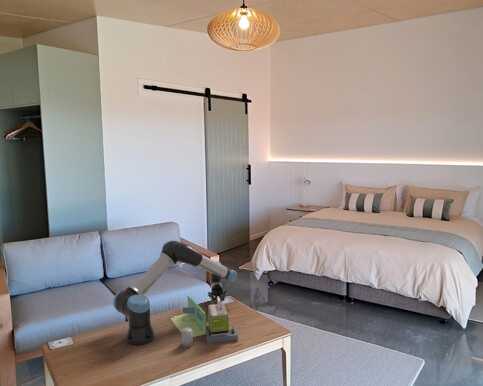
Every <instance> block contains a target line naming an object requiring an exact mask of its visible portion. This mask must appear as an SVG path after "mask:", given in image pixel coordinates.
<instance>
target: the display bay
mask: <svg viewBox="0 0 483 386" xmlns="http://www.w3.org/2000/svg"><path fill="white" fill-rule="evenodd" d="M237 329H238V328H237V325H236V323H232V330H233V334H232V333H231V334H230V333H229V334H228V335H215V336H211V335H210V330H209V325H206V334H205V335H206V337H205V338H206V343H209V344H210V343H221V342H233V341H234V342H235V341H239V335H238V334H239V333H238V330H237Z"/></svg>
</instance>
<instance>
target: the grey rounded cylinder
mask: <svg viewBox="0 0 483 386" xmlns="http://www.w3.org/2000/svg"><path fill="white" fill-rule="evenodd" d="M180 336H181V346H182V347H183V348H189V347H190V348H191V347H192V346H193V344H194V337H193V331H192V328H183V329H182V330H181V332H180Z"/></svg>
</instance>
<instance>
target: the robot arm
mask: <svg viewBox="0 0 483 386" xmlns="http://www.w3.org/2000/svg"><path fill="white" fill-rule="evenodd" d="M177 263H182V264H186V265H188V266H192V267H198V268H199V269H200V268H201V269H202V270H204V271H206V272H208V273H210V290H211V291H208V292H207V297H209V298H210V299H211V300H212V302H215V303H216V304H221V303H222V301H225V300H226V297H227V296H228V291H227V290H225V291H224V290H223V285H222V280H225V281H228V282H235V281H236V280H237V279H238V278H237V277H238V273H237V271H236V270H234V269H231V268H229V267H227V266H225V265H223V264H222V263H221V262H220V261H216V260H213V259H211V258H209V257H207V256H206V255H204V254H203V252H201V251H200V250H198V249H197V248H195V247H194V246H191V245H190V244H187V243H183V242H180V241H177V240H169V241H166V242H165V243H164V244H162V247H161V251H160V252H159V257H158V258H157V260H155V262H154V263H153V264H152V265H151V266H150V267H148V269H147V270H146V271H145V272H144V273H143V274H142V275H141V276H140V278H139V279H138V280H136V282H135V283H133V285H132V286H131V285H130V286H127V288H126V289H123V290H119V291H118V292H116V294H115V295H114V297H113V300H112V301H113V302H112V305H113V307H114V310H115V311H117V313H120V314H122V315H124V316H126V317H127V318H128V329H127V332H126V337H125V339H126V340H127V341H126V343H127V342H128V344H129V345H131V344H132V345H131V346H141V345H146V344H149V343H151V342H152V341H153V340H154V339H155V331H154V329H153V326H152V324H151V303H150V299H149V297H148V296H147V295H145V294H146V293H148V292H149V290H150V289H151V288H152V287H153V286H154V285H155V283H156V282H157V281H159V280H160V278H161V277H162V276H163V275H164V274H165V273H166V272H167V270H168V269H169V268H170V267H175V265H176V264H177ZM150 341H151V342H150Z"/></svg>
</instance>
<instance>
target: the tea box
mask: <svg viewBox="0 0 483 386" xmlns="http://www.w3.org/2000/svg"><path fill="white" fill-rule="evenodd" d="M207 313H208V314H207V315H208V317H207V318H208V326H209V336H215V335H228V334H230V331H229V330H230V328H229V327H230V325H229V313H228V311H227V308H226V305H225V303H220V304H218V303H216V304H215V303H214V304H207Z"/></svg>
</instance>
